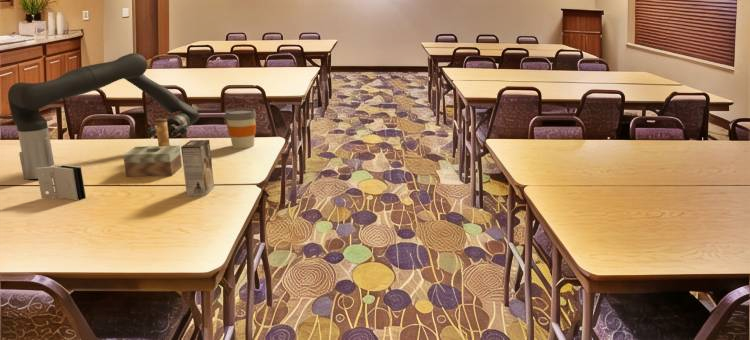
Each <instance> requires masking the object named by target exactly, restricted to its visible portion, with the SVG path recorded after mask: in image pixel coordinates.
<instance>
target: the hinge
mask: <svg viewBox="0 0 750 340" xmlns="http://www.w3.org/2000/svg"><path fill="white" fill-rule="evenodd" d="M36 170H37V176H38V186H39V187H38V188H39V191H40V196H41V199H42V198H47V199H53V198H52V197H58V198H59V197H60V198H59V199H64V198H67V199H66V200H71V199H74V200H73V201H82V200H83V199H87V195H86V190H85V183H84V176H83V171H82V166H78V165H69V164H54V165H52V166H51V167H41V168H36ZM43 172H44V173H45V175H43V174H42V173H43ZM51 173H52V175H51ZM52 176H53V177H52ZM47 192H48V193H47ZM78 199H79V200H78Z"/></svg>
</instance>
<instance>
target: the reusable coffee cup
mask: <svg viewBox="0 0 750 340" xmlns="http://www.w3.org/2000/svg"><path fill="white" fill-rule="evenodd" d="M256 118H257V113H256V109H253V108H235V109H234V108H233V109H229V110H226V111H225V119H226V122H227V124H226V128H227V132H228V135H229V137H230V141H231V145H232V148H233V147H235V148H234V149H239V148H242V149H248V148H249V147H250V148H252V147H254V146H255V136H256V134H257V132H256V131H257V123H256Z"/></svg>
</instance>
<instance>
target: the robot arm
mask: <svg viewBox="0 0 750 340" xmlns="http://www.w3.org/2000/svg"><path fill="white" fill-rule="evenodd" d="M147 69H148V61H147V59H146V58H145V57H144V56H143V55H141V54H140V53H136V52H135V53H134V52H131V53H127V54H124V55H122V56H120V57H119V58H117V59H115V60H112V61H107V62H101V63H100V62H99V63H93V64H90V65H85V66H81V67H77V68H75V69H71V70H69V71H67V72H65V73H62V75H60V76H59V77H57V78H55V79H51V80H48V81H43V82H35V83H32V82H24V81H23V82H16V83H13V84H11V86H10V87H9V89H8V93H7V100H8V105H9V110H10V114H11V118H12V121H13V123H14V125H15V126H16V129H17V135H18V139H19V146H20V150H21V151H19V152H18V154H19V155H18V156H19V160H20V165H21V171H22V177H23V179H25V180H29V179H38V176H37V170H36V168H41V167H51V166H52V165H55V160H54V154H53V149H52V143H51V137H50V131H49V125H48V122H47V121H48V120H46V119H45V118H44V116H43V115H42V114H41V112H40V109H42V108H45V107H47V106H50V105H52V104H54V103H56V102H58V101H61V100H65V99H69V98H72V97H77V96H81V95H84V94H86V93H87V94H88V93H91V92H93V91H96V90H99V89H102V88H104V87H106V86H108V85H111V84H113V83H115V82H117V81H120V80H125V81H127V82H128V83H130V84H132V85H133V86H134V87H136V88H138V89H139V90H141V91H142V92H144V93H145V94H146V95H148V96H149V97H150V98H152V99H153V100H154V101H155V102H156V103H157V104H159V106H161V107H162V108H163V109H164V110H165V111H166V112H168V114H174V113H176V112H179V113H177V114H174V115H172V116H170V117H169V118H166V119H167V126H168V135H169V138H175V137H178V136H180V135H183V136H184V135H186V134H187V133H188V132H189V127H190V126H193V124H194V123H196V122H197V121H199V119H200V113H199V111H198V110H197V109H196V108H195V107H194V106H192V105H190V104H188V103H186V102H184V101H182V100H181V99H180V98H178V97H177V96H176V95H175V94H174V93H173V92H171V91H170V90H169V89H168V88H166V87H165V86H163V85H161V84H160V83H158V82H156V81H154V80H153V79H151V78H149V77H148V76H146V75H145V74H144V73H145V72H146V71H147ZM146 130H147V135H148V136H149V137H150V138H154V137H155V136H157V129H156V125H153V126H151V127H148V128H147V129H146ZM42 174H43V175H45V173H44V172H43V173H42ZM51 175H52V173H51ZM52 178H53V176H52Z"/></svg>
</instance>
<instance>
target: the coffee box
mask: <svg viewBox="0 0 750 340" xmlns="http://www.w3.org/2000/svg"><path fill="white" fill-rule="evenodd" d="M180 151H181V160H182V164H183V165H182V167H183V173H184V182H185V190H186V196H187V197H189V196H190V197H191V196H192V197H195V196H198V197H199V196H207V195H208V194H209V193H210V192H211V191H212V189H214V187H215V181H214V180H215V179H214V173H213V164H212V163H213V162H212V154H211V143H210V139H192V140H191V139H190V140H189V141H187V142H186V143H185V144H183V145H182V146H180Z"/></svg>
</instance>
